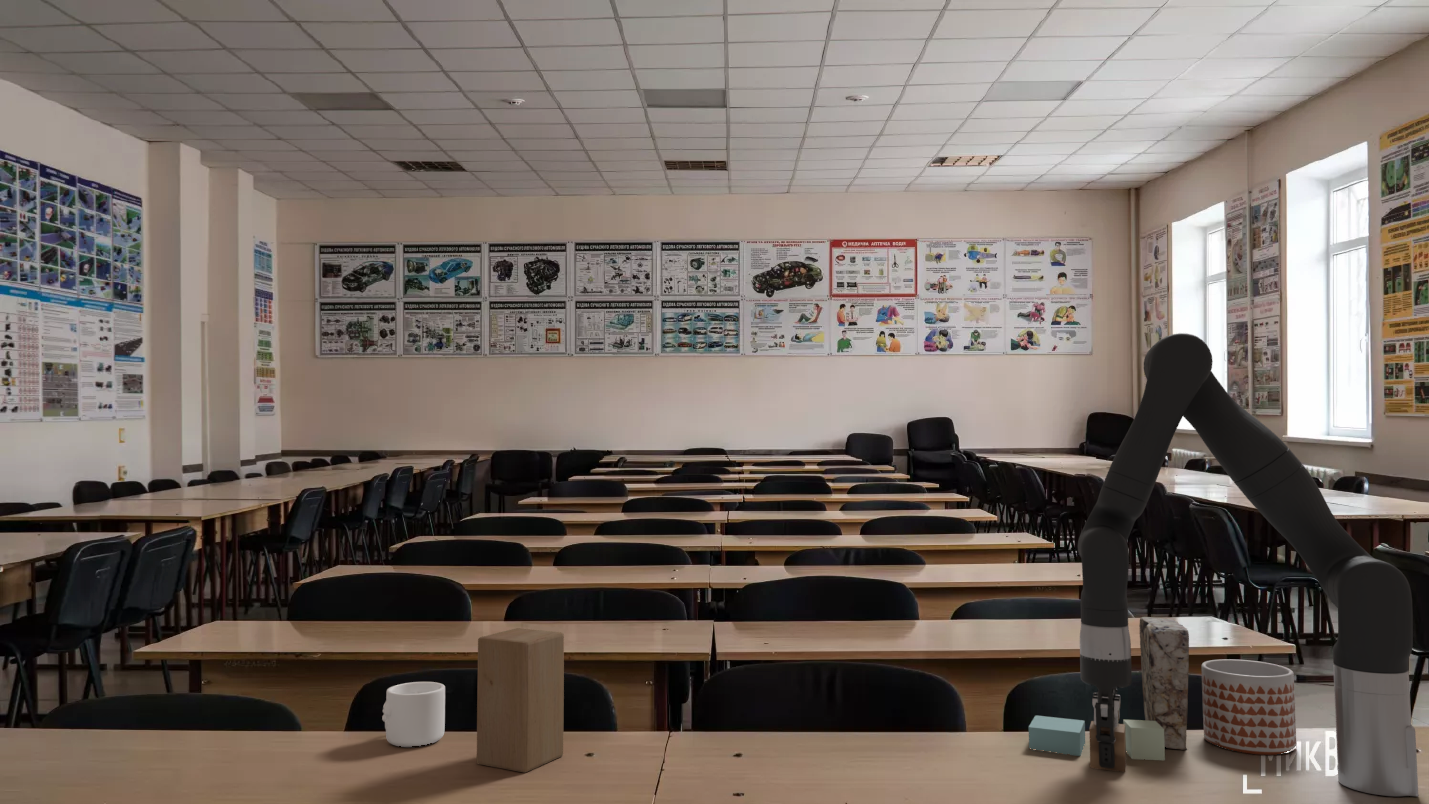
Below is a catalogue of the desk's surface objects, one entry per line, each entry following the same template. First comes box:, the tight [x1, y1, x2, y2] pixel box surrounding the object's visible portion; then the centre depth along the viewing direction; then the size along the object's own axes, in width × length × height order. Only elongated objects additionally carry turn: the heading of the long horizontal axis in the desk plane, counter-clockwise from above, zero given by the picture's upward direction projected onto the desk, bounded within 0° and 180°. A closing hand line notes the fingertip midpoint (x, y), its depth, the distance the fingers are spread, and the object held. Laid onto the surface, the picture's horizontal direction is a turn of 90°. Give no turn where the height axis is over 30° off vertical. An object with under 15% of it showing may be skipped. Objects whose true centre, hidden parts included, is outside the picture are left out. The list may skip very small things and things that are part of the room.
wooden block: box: [476, 627, 565, 774], centre depth 156 cm, size 10×10×20 cm
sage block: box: [1122, 719, 1166, 761], centre depth 157 cm, size 5×5×5 cm
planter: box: [1201, 658, 1297, 756], centre depth 163 cm, size 14×14×13 cm
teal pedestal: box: [1028, 715, 1086, 757], centre depth 162 cm, size 8×8×4 cm
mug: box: [381, 681, 446, 748], centre depth 167 cm, size 12×10×9 cm
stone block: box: [1139, 616, 1190, 751], centre depth 166 cm, size 13×7×20 cm, turn 171°
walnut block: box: [1088, 720, 1127, 773], centre depth 152 cm, size 5×5×6 cm
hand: (1108, 760), depth 152 cm, fingers open, 6 cm apart
